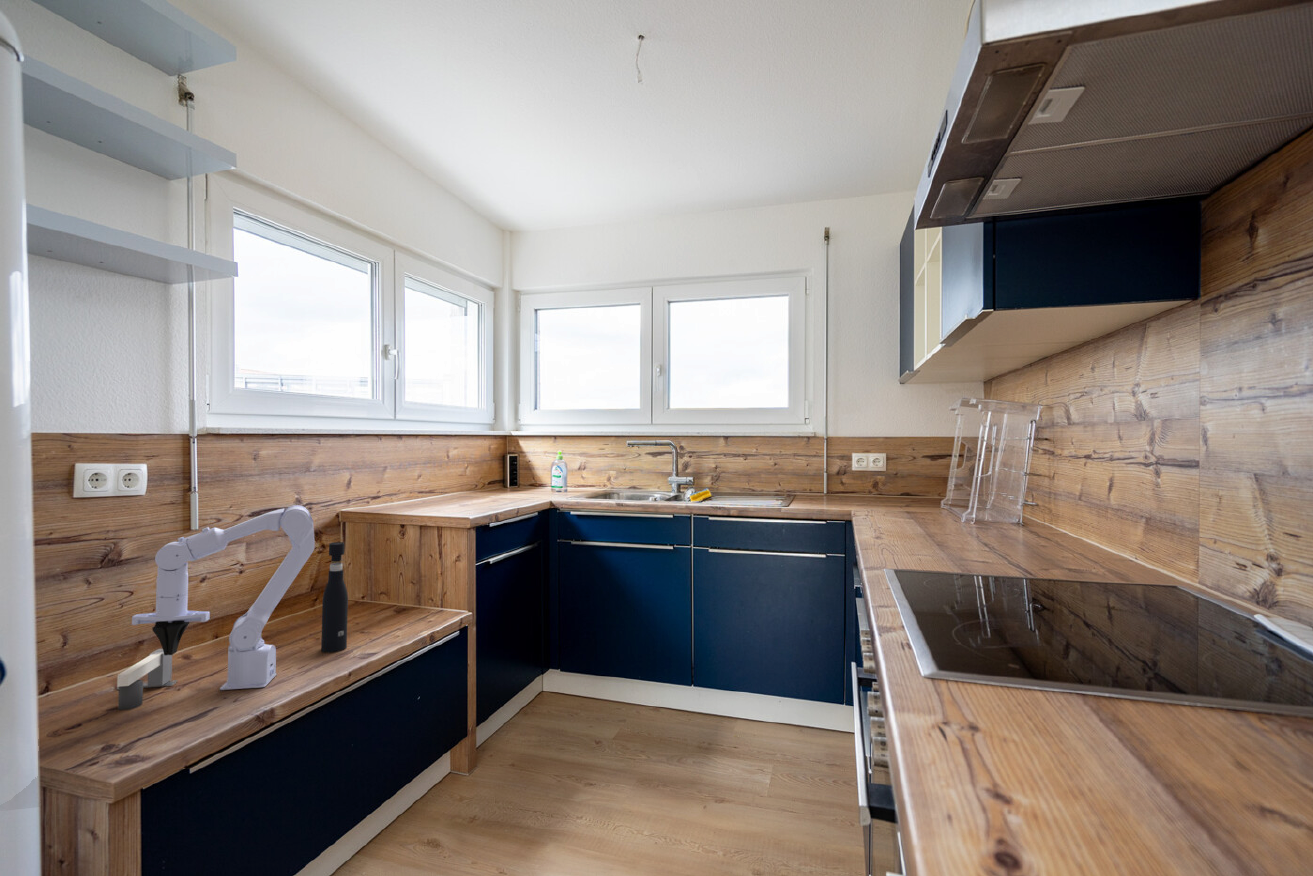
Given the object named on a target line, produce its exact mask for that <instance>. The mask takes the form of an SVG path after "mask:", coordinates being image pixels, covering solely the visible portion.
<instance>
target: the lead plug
mask: <svg viewBox="0 0 1313 876" xmlns="http://www.w3.org/2000/svg"><path fill="white" fill-rule="evenodd" d="M143 682H144V680H142V679H138V680H137V681H135V682H134V683H132V684H131V685H129V686H120V687H119V690H118V704H117V707H118V710H119V711H129V710H133V709H136V708H139V707H141V706H143V701H144V699H143V696H144V694H143V693H144V688H143Z"/></svg>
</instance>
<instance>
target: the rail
mask: <svg viewBox="0 0 1313 876" xmlns="http://www.w3.org/2000/svg"><path fill="white" fill-rule="evenodd" d="M176 683H178V680H176V679H175V680H174V679H172V680H170V681H168V682H167V683H165V684H164V685H163V686H150V687H147V686H148V681H145V682H144V681H143V689H146V688H147V689H148V688H161V687H162V688H163V687H172V686H174V685H175V684H176ZM116 690H118V691H119V687H116Z"/></svg>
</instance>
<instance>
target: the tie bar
mask: <svg viewBox="0 0 1313 876" xmlns="http://www.w3.org/2000/svg"><path fill="white" fill-rule="evenodd" d="M172 674H173V655H164V652H163V648H157V649H156V650H154V651H152V652H151V653H149V654H148V656H146V657H145V658H143V659H142V660H140V661H138V662H137V663H135V664H133V665H132V666H130V667H129V668H127V669H125V670H124V671H122V672H120V673H119V674H117V687H120V686H129V685H131V684H132V683H134V682H135V681H137V680H141V678H143V677H144V676H146V675H147V682H148V686H147V687H149V688H151V687H150V686H163V685H164V684H165V683H167V682H168V681H172V680H173V679H172V676H173V675H172ZM117 687H116V688H117Z"/></svg>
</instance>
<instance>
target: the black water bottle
mask: <svg viewBox="0 0 1313 876" xmlns="http://www.w3.org/2000/svg"><path fill="white" fill-rule="evenodd" d="M344 555H345V542H341V541H335V542H330V543H329V544H328V556H331V559H330V560H331V561H330V562H331V563H330V565H329V570H328V577H327V579H328V580H327V583H326V585H325V589H324V592H323V596H322V605H321V607H322V608H321V609H322V611H321V639H320V640H321V645H320V648H321V649H320V650H321V652H322V653H337V652H342V651H343V650H346V649H347V647H348V645H347V643H348V641H347V640H348V617H349V616H348V615H349V613H348V612H349V611H348V608H349V605H348V604H349V596H348V590H347V589H348V588H347V586H346V583H345V581H344V571H345V570H344V569H343V563H342V562H343V560H342V557H343V556H344Z"/></svg>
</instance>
